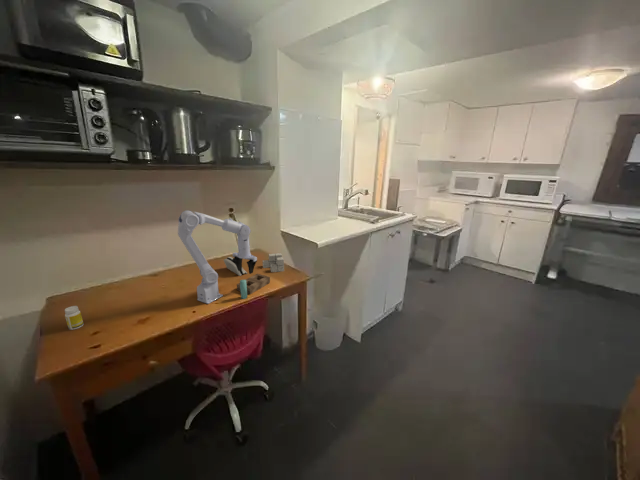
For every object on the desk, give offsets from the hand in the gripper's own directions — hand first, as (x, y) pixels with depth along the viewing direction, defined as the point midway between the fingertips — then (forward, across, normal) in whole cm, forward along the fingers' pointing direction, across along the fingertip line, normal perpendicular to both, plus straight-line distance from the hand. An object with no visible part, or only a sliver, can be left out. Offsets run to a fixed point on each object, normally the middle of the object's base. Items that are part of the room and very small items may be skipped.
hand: (245, 271), depth 145 cm
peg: (+10, -6, +8) cm, 14 cm away
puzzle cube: (+10, +4, -30) cm, 31 cm away
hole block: (+10, -2, -4) cm, 11 cm away
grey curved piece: (+10, +22, -14) cm, 28 cm away
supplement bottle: (+10, +37, +59) cm, 71 cm away
